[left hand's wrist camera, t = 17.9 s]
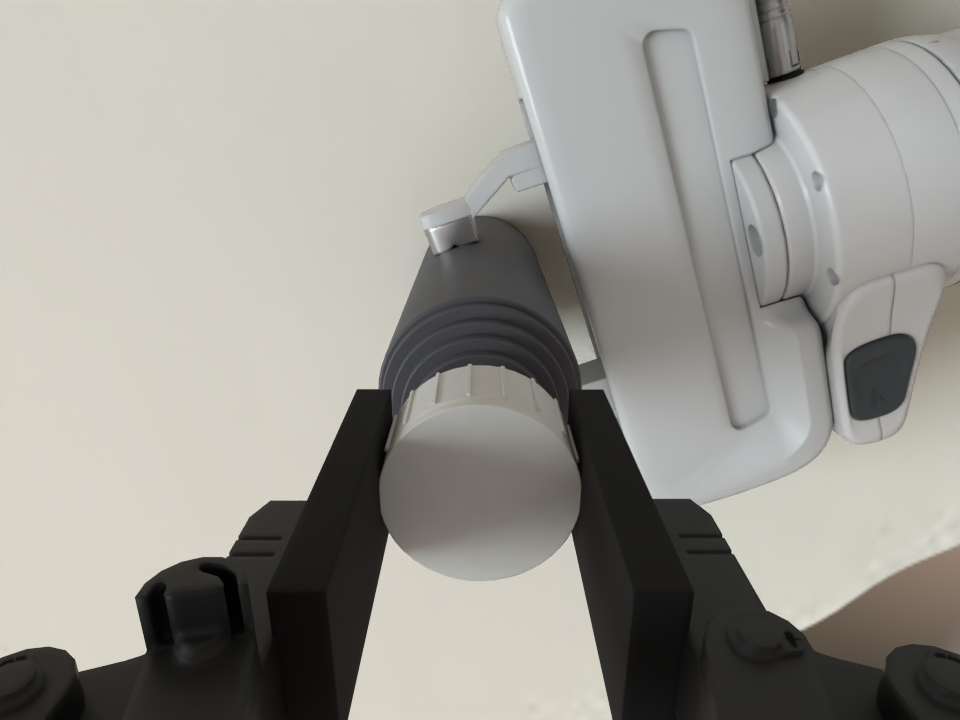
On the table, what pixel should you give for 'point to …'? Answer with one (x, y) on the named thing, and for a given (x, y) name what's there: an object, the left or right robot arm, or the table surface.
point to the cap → (480, 474)
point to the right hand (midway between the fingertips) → (458, 318)
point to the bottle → (481, 318)
